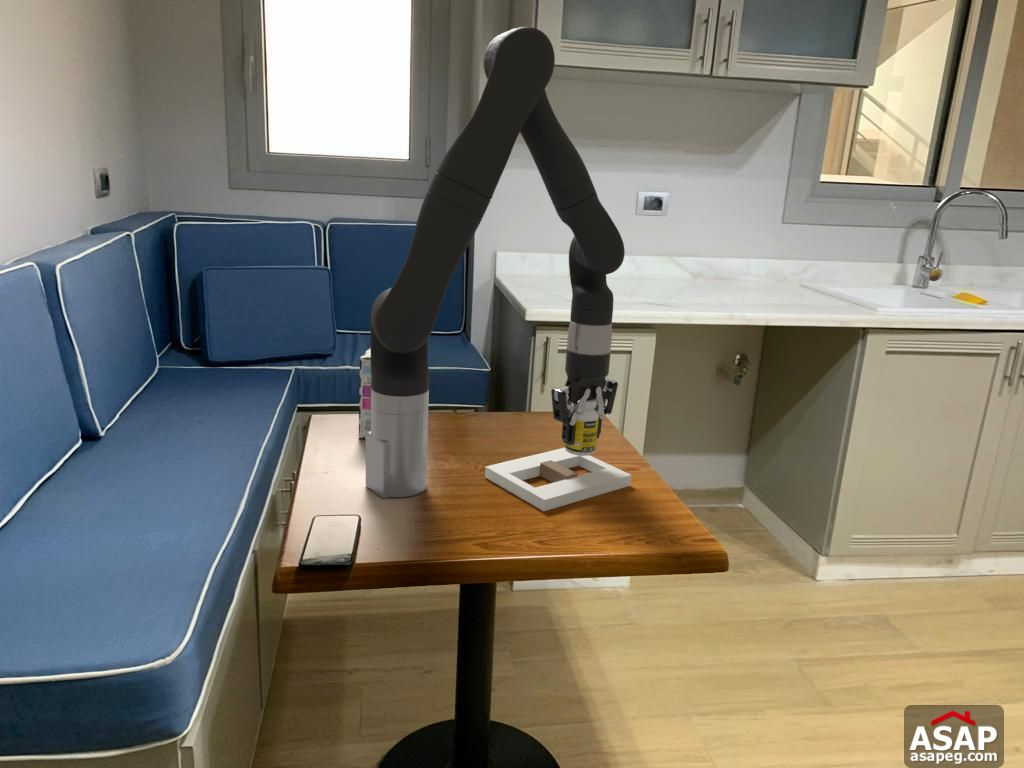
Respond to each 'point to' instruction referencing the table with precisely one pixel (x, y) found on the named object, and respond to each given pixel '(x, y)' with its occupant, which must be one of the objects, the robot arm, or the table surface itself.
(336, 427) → the table surface
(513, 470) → the white frame
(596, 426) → the supplement bottle
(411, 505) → the table surface
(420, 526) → the table surface
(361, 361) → the candy bar box
